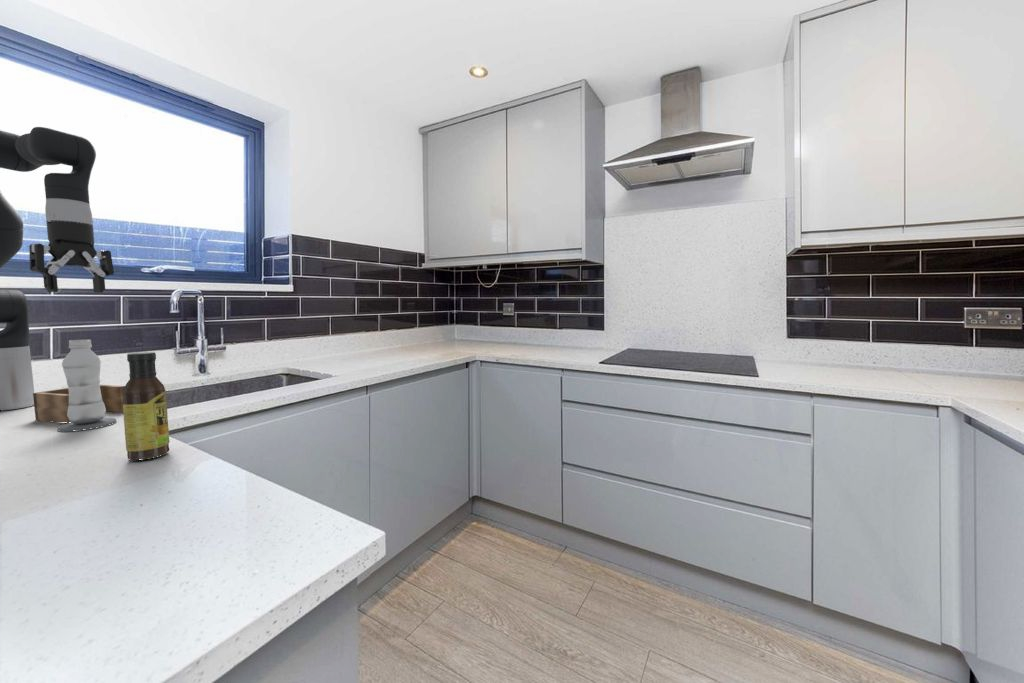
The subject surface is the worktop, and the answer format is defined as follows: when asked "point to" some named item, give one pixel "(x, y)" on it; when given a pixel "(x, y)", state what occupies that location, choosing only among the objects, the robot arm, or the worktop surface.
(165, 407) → the sauce bottle
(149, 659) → the worktop surface
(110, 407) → the holder
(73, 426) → the mat
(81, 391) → the plastic bottle
